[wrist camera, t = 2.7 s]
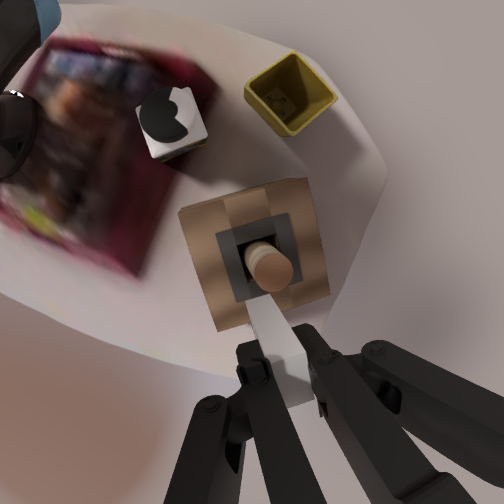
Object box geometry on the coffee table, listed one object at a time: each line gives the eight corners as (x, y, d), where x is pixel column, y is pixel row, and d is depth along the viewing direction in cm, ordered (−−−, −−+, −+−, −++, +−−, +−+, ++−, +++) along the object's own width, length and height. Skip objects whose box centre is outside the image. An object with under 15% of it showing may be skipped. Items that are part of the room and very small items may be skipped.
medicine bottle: (160, 163, 38) (144, 154, 26) (144, 119, 36) (124, 96, 24) (207, 144, 38) (210, 128, 27) (190, 101, 36) (188, 70, 25)
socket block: (181, 208, 40) (177, 213, 32) (287, 178, 41) (308, 177, 33) (214, 307, 44) (217, 333, 36) (309, 276, 46) (331, 295, 38)
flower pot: (273, 146, 40) (293, 137, 31) (233, 104, 37) (242, 84, 29) (313, 112, 40) (339, 98, 31) (275, 72, 37) (294, 48, 29)
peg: (239, 244, 36) (250, 261, 28) (269, 235, 36) (288, 249, 29) (247, 273, 37) (260, 297, 29) (276, 264, 37) (296, 285, 30)
